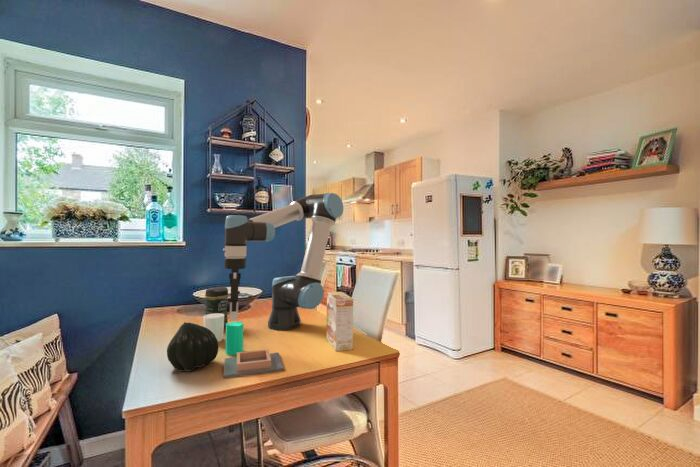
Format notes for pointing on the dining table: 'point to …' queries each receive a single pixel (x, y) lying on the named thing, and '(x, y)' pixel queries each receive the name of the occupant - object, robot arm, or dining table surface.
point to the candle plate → (252, 363)
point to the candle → (234, 338)
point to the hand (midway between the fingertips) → (233, 316)
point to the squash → (192, 347)
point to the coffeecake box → (340, 321)
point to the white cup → (215, 324)
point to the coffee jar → (217, 301)
